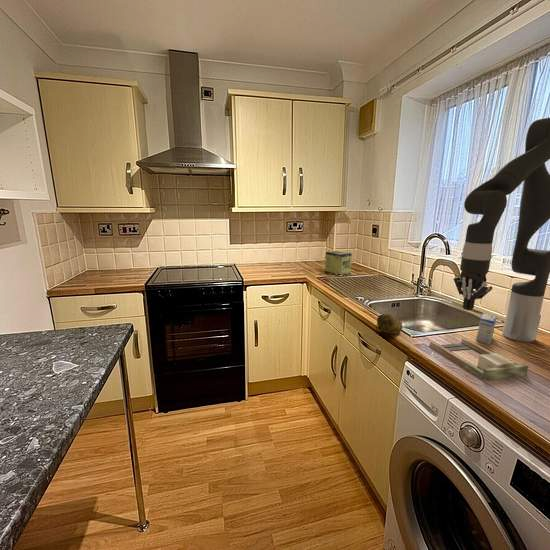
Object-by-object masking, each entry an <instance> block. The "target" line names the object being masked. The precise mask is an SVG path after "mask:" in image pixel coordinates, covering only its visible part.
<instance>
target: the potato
mask: <svg viewBox="0 0 550 550" xmlns="http://www.w3.org/2000/svg"><path fill="white" fill-rule="evenodd" d="M376 325H377V329H378V330H381V331H382V332H383V333H387V334H391V335H397V334H399V333H400V332H401V331H402V330H403V322H402V321H401V320H400V319H399V318H397V317H395V316H393V315H392V314H390V313H383V314H380V315H378V316H377V318H376Z"/></svg>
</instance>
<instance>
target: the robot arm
mask: <svg viewBox="0 0 550 550" xmlns="http://www.w3.org/2000/svg"><path fill="white" fill-rule="evenodd" d="M524 143H525V144H524V152H523V153H522V154H520V155H518V156H516V157H514V158H513V159H512V160H510V161H509V162H507V163H505V165H504V166H502V167H501V168H500V170H498V172H497V173H495V174H494V176H493V177H491V178H490V179H488V180H487V181H485V182H483V183H482V184H480V185H478V186H477V187H475V188H474V189H473V190H471V192H469V193H468V194H467V196H466V198H465V200H464V202H463V203H464V204H463V206H464V209H465V212H467V213H468V214H471V215H480V216H481V215H482V217H481V219H480V221H477V222H472V223H469V224H468V225H467V227H466V234H465V239H464V244H463V247H462V254H461V261H460V265H459V268H460V271H461V272H460V274H459V276H457V277H453V281H454V284H455V287H456V289H457V292H458V294H459V295H462V297H463V300H462V301H463V302H462V307H463V309H464V310H465V311H472V310H473V309H474V306H475V304H476V303H475V302H476V300H482V298H484V297H485V296H486V295H487V294H488V293H490V292H491V291H492V290H493V286H492V285H489V284H488V283H487V274H488V273H489V270H490V264H491V259H492V253H493V242H494V236H495V230H496V228H497V226H498V224H499V222H500V220H501V218H502V216H503V213H504V212H505V210H506V207H507V203H508V198H507V196H508V195H510V194H512V193H513V192H514V191H515V190H516V189H518V187H519V186H520V185H521V184H522V183H523V184H522V192H521V197H520V205H519V213H518V215H519V216H518V226H517V227H518V228H517V234H516V238H515V243H514V248H513V252H512V256H511V257H512V259H511V263H510V264H511V270H512V272H513V273H517V274H522V275H529V276H534V279H532V280H529V281H518V282H515V283H513V284H512V285H511V290H510V296H509V300H508V305H507V311H506V314H505V315H506V316H505V321H504V326H503V329H502V335H503V336H504V337H505V338H507V339H508V338H509V339H511V340H513V341H518V342H521V343H522V342H523V343H524V342H525V343H532V342H534V341H535V340H536V339H537V335H538V331H539V327H540V323H541V318H542V316H541V311H542V306H543V302H544V297H545V293H546V290H547V289H546V288H547V286H548V280H549V277H550V250H547V249H538V248H537V249H536V248H528V245H529V243H530V241H531V239H532V238H533V236H534V235H535V234H536V232H538V231H539V230H540V229H541V228H542V227H543V226H544V225H545V224H546V223H547V222H549V220H550V173H549V171H548V168H547V167H546V162H548V161H549V160H550V117H546V118H541V119H536V120H534V121H533V122H532V123H530V125H529V126H528V128H527V131H526V135H525V142H524Z"/></svg>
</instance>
